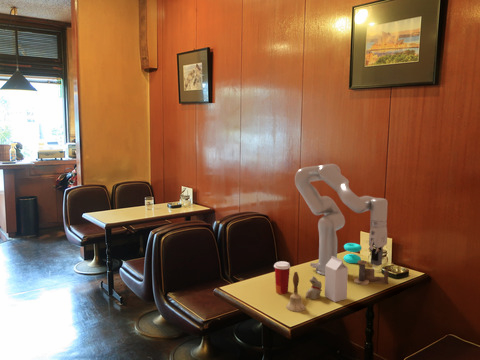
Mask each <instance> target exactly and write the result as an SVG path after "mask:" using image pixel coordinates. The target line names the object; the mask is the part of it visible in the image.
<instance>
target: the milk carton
mask: <svg viewBox="0 0 480 360" xmlns="http://www.w3.org/2000/svg"><path fill="white" fill-rule="evenodd" d="M348 273H349V267H347V266H346V264H344V261H343V259H341V258H338V257H337V258H336V257H333V256H331V259H330V260H329V262H328V263H327V264H326V265H325V275H324V297H325V298H327V299H329V300H330V301H332V302H333V303H336V302H340V301H343V300H347V298H348V297H347V296H348V276H349V275H348Z"/></svg>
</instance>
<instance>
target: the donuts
mask: <svg viewBox="0 0 480 360" xmlns="http://www.w3.org/2000/svg"><path fill="white" fill-rule="evenodd" d="M343 248H344V250H345V251H347V252H350V253H347V254H345V255H344V256H343V260H344V261H343V262H346V263H349V264H358V261H359V260H362V258H361V256H360V255H358V254H355V253H358V252H360V251H362V245H360V244H358V243H355V242H347V243H344V245H343Z"/></svg>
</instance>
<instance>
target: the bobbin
mask: <svg viewBox="0 0 480 360" xmlns="http://www.w3.org/2000/svg"><path fill="white" fill-rule="evenodd" d="M357 264H358V265H359V267H358V277H355V278H354V279H353V280H354V281H353V282H354V283H355V284H356V285H361V286H367V285H369V284H370V282H369V280H367V279H365V268H366V265H367V264H368V261H366V260H363V259H361V260H359V261H358V263H357Z"/></svg>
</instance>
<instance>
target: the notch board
mask: <svg viewBox="0 0 480 360" xmlns="http://www.w3.org/2000/svg"><path fill="white" fill-rule="evenodd" d="M389 272H390V271H389V270H388V269H384V270H383V276H375V268H368V267H367V268H366V267H365V279H367V280H369V284H370V283H371V284H383V285H389V275H390V274H389Z"/></svg>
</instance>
